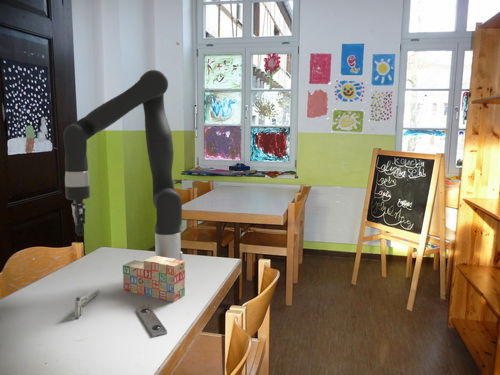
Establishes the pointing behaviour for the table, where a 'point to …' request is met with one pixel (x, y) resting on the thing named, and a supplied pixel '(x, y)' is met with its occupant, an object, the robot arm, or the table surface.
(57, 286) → the table surface
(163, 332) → the bolt strip
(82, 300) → the caliper
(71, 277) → the table surface
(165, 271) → the stack of blocks
